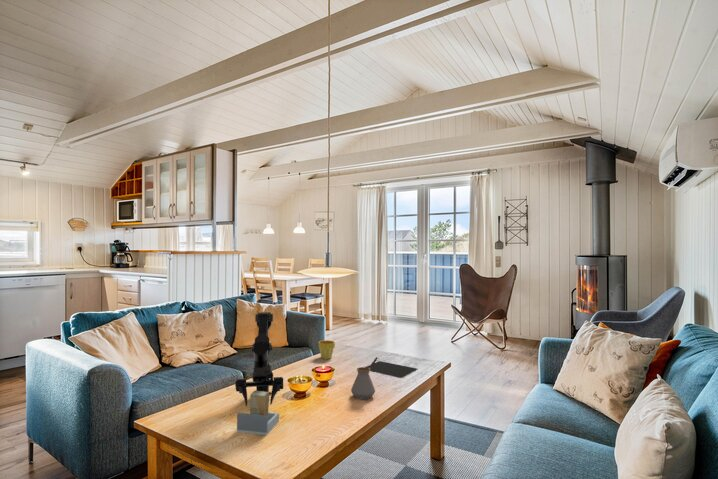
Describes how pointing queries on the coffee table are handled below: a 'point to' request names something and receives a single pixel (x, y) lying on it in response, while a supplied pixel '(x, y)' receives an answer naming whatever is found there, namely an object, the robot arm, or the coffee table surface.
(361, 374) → the coffee pot
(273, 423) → the seat tray
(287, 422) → the coffee table surface
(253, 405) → the skincare box
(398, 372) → the tablet
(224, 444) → the coffee table surface
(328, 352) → the plant pot
